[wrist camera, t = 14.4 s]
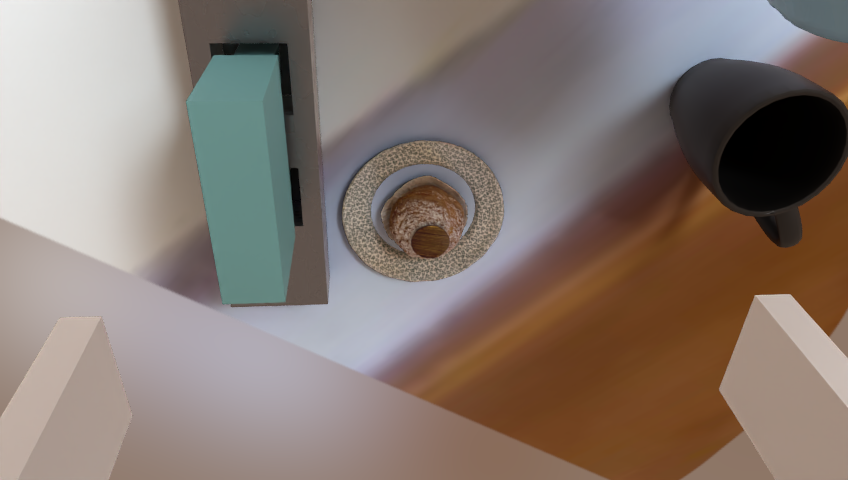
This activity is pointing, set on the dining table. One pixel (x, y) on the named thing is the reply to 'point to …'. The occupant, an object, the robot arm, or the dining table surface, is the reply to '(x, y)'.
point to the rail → (293, 24)
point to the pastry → (423, 213)
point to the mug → (760, 139)
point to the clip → (245, 172)
